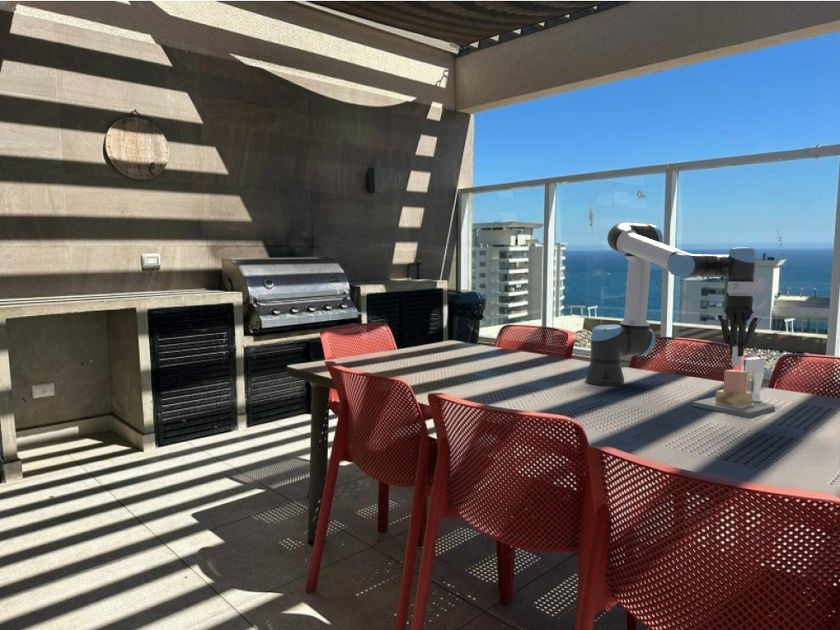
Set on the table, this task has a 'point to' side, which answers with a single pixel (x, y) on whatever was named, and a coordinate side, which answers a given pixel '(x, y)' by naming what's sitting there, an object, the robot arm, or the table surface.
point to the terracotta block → (735, 381)
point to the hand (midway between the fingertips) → (736, 365)
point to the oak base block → (733, 398)
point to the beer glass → (753, 375)
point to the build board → (740, 411)
